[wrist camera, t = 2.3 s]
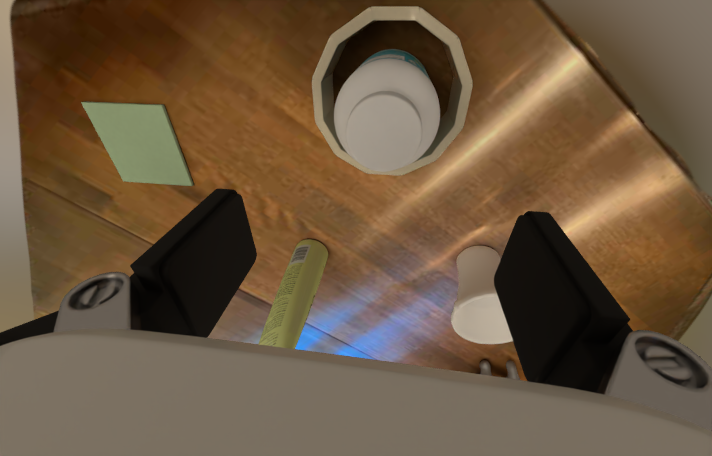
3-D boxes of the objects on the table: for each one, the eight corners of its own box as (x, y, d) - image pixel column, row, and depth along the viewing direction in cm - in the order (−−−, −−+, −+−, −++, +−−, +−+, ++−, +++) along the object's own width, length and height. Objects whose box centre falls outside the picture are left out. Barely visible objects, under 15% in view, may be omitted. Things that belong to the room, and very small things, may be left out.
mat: (84, 101, 33) (80, 102, 32) (164, 104, 32) (161, 105, 31) (125, 179, 39) (123, 181, 38) (194, 184, 38) (192, 186, 37)
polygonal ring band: (321, 8, 25) (305, 6, 21) (475, 8, 23) (490, 6, 19) (329, 151, 33) (318, 170, 29) (445, 158, 31) (451, 178, 27)
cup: (466, 224, 36) (484, 283, 28) (526, 253, 37) (559, 317, 29) (426, 267, 41) (432, 328, 33) (480, 292, 42) (498, 355, 34)
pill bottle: (430, 124, 29) (446, 187, 19) (360, 134, 31) (337, 197, 20) (428, 39, 25) (447, 55, 14) (346, 55, 27) (308, 81, 16)
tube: (330, 267, 44) (290, 407, 28) (298, 264, 44) (241, 399, 29) (327, 238, 40) (280, 379, 25) (293, 236, 41) (225, 371, 25)
